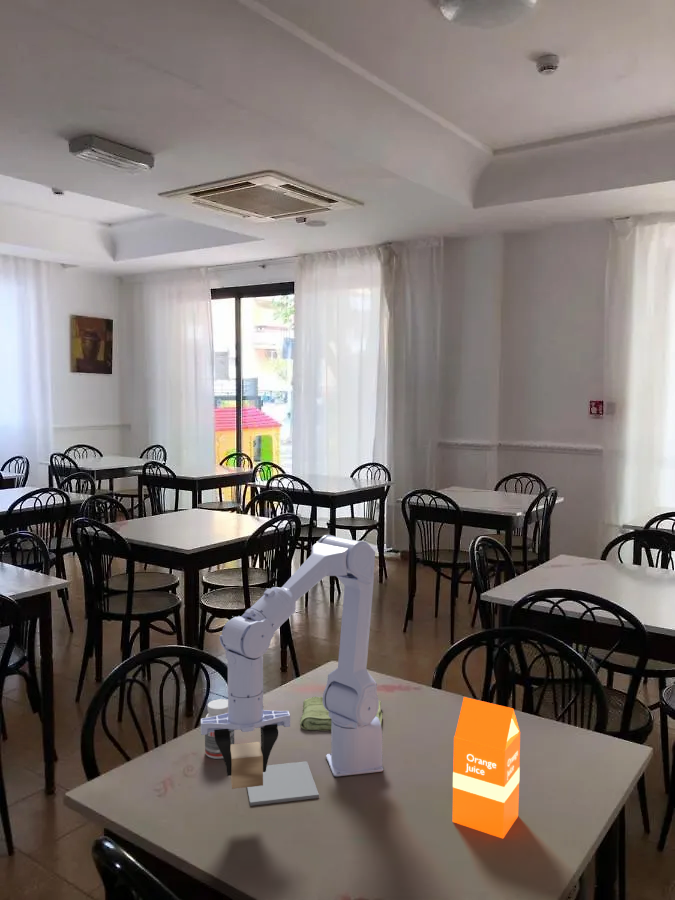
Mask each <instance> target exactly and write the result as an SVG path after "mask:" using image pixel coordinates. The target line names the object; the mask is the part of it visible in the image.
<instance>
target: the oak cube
mask: <svg viewBox="0 0 675 900" xmlns="http://www.w3.org/2000/svg"><path fill="white" fill-rule="evenodd" d="M230 759H231V776H229V777H230V783H231V789H232V790H234V789H243V788H247V787H254V786H263V754H262V750H261V741H253V742H243V743H242V742H241V743H234V744H231V749H230Z"/></svg>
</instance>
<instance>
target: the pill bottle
mask: <svg viewBox="0 0 675 900" xmlns="http://www.w3.org/2000/svg"><path fill="white" fill-rule="evenodd" d="M207 712H208V713H207V714H206V716H205V717H204V718H209V717H213V716H217V715H221V714H225V713H228V699H224V698H222V699H220V698H219V699H213V700H210V701H209V702H208V703H207ZM230 740H231V744H235V730H230ZM204 753H205V755H206V756H207V757H208V758H210V759H215V760H220V759H221V760H222V759H224V758H223V756H222V753H221V751H220V749H219V747H218V746H217V744H216V741H215V735H214V732H208V734H206V735H204Z"/></svg>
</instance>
